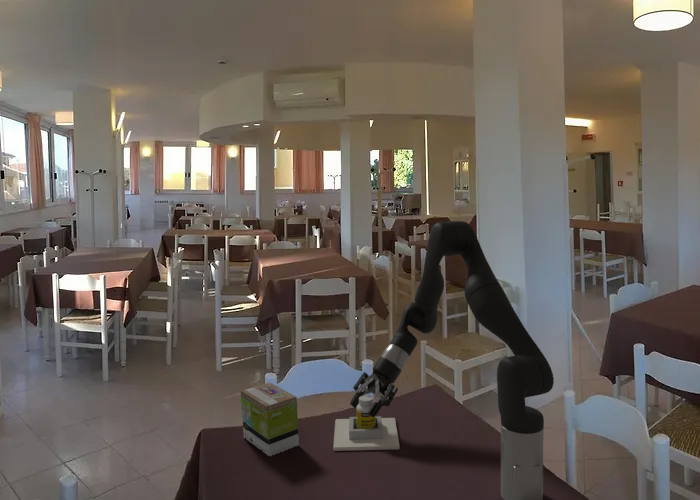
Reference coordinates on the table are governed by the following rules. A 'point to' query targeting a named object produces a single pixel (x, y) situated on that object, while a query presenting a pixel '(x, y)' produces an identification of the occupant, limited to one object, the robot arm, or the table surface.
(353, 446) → the socket dock
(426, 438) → the table surface
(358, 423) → the supplement bottle
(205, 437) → the table surface
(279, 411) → the tea box
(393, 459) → the table surface
